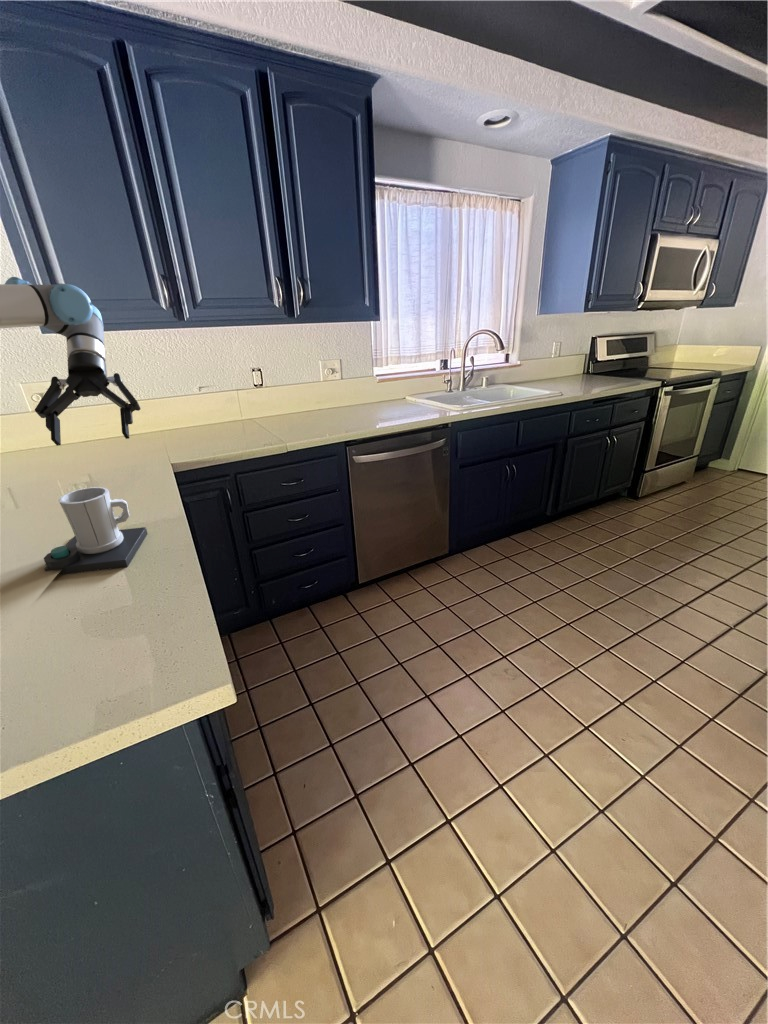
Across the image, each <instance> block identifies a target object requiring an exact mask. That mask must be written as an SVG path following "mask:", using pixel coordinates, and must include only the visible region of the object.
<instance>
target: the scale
mask: <svg viewBox="0 0 768 1024" xmlns="http://www.w3.org/2000/svg"><path fill="white" fill-rule="evenodd" d="M119 531H121V532H122V534H123V537H124V538H123V541H122V542H121V543H120V544H119V545H118V546H117V547H115V548H113V549H111V550H109V551H105V552H102V553H97V554H84V553H81V552H79V551H78V549H77V546H76V543H77V540H76V537H75V535H74V536H73V537H72V538H71V539H70V540H69V541H68V543H66V544H65V546H66V547H67V548H68V551H69V555H67V556H65V557H63V558H59V559H54V558H53V556H52V554H51V552H49V553H47V554H46V555H45V556H44V557H43V560H44V563H45V565H46V567H44V572H52V571H59V572H58V573H57V574H56V576H65V575H72V574H80V573H88V572H89V573H90V572H98V571H106V570H115V569H123V568H129V566H130V564H131V562H132V561H133V559H134V558H135V557H136V554H137V553H138V551H139V549H140V547H141V546H142V544H143V543H144V541H145V539H146V537H147V536H148V534H149V533H148V530H147V527H146V526H144V527H136V528H135V527H134V528H133V527H132V528H124V529H119Z"/></svg>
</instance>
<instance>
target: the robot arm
mask: <svg viewBox="0 0 768 1024" xmlns="http://www.w3.org/2000/svg"><path fill="white" fill-rule="evenodd" d="M92 303H93V302H92V301H91V299H90V297H89V296H88V294H87V293H86V292H85V291H84V290H83V289H81V288H80V287H78V286H76V285H74V284H68V283H56V284H32V283H31V282H30V281H29V280H25V279H22V278H20V277H18V276H11V277H9V278H7V280H6V281H5V282H4V283H3V284H2V283H1V284H0V329H13V328H30V327H43V328H45V329H48V330H50V331H52V332H53V333H56V334H58V335H61V336H62V337H65V338H66V339H65V340H66V357H67V374H68V375H67V378H58V377H57V376H52V377H51V380H50V385H49V387H48V388H47V390H46V391H45V393H44V395H43V396H42V397H41V398H40V401H39V402H38V403H37V405H36V406H35V408H34V412H35V413H36V414H37V415H38V416H39V417H40V418H41V419H45V428H46V429H47V430H48V431H49V432H50V440H51V441H52V442H53V443H54V445H56V446H57V447H58V446H61V445H62V440H61V420H60V418H59V416H60V415H61V414H62V413H63V412H64V411H65V410H66V409H67V408H68V407H69V406H70V405H71V404H72V403H73V402H74V401H78V400H79V399H80V398H81V397H82V398H88V397H99V395H102V396H103V397H104V398H106V399H108V400H110V401H111V402H112V403H114V404H115V405H116V406H118V407H119V412H120V425H121V434H122V435H123V437H124V438H125V440H129V439H130V429H129V425H133V423H134V418H133V412H136V411H140V410H141V406H140V404H139V401H138V400H137V399H136V398H135V396H134V395H133V394H132V393H131V392H130V390H129V389H128V388H127V386H126V385H125V384H124V383H123V382H124V381H123V380H122V377H121V375H120V374H119V373H118V372H115V373H113V375H112V376H108V374H107V372H108V371H107V363H106V348H105V333H104V330H105V326H104V322H103V316H102V314H101V312H100V310H99V309H98V307H96V306H95V305H94V304H92ZM110 384H112V385H113V386H115V387H117V388H118V390H119V391H120V392H121V394H122V395H123V396H124V397H125V399H126V400H127V401H125V400H124V399H123V398H121V397H120V396H118V395H117V394H116V393H114V391H112V390H110V389H109V388H108V386H109V385H110ZM66 386H67V387H66ZM65 387H66V388H65ZM63 390H64V392H63V393H62V391H63Z"/></svg>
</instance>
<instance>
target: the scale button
mask: <svg viewBox="0 0 768 1024" xmlns="http://www.w3.org/2000/svg"><path fill="white" fill-rule="evenodd" d="M50 553H51V554H52V556H53V558H54V559H59V558H63V557H65V556H67V555H69V551H68V548H67V547H66V545H61V546H56V547H54V548H52V549H51V550H50Z"/></svg>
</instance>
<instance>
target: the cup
mask: <svg viewBox="0 0 768 1024" xmlns="http://www.w3.org/2000/svg"><path fill="white" fill-rule="evenodd" d="M58 503H59V505H60V506H61V509H62V511H63V513H64V515H65V516H66V519H67V521H68V523H69V525H70V527H71V529H72V532H73V534H74V536H75V537H76V540H77V543H76V546H77V549H78V551H79V552H81V553H84V554H97V553H102V552H105V551H109V550H111V549H113V548H115V547H117V546H118V545H119V544H120V543H121V542H122V541H123V538H124V537H123V534H122V532H121V531H119V530H120V529H119V527H118V524H121V523H124V522H127V520H129V518H130V509H129V505H128V502H127V501H126V500H124V499H123V498H118V499H115V498H114V499H111V495H110V491H109V489H108V488H106V487H103V486H93V487H85V488H80V489H79V488H78V489H76V490H73V491H70V492H67V493H65V494H63V495H61V496H60V497H59V499H58ZM116 507H117V508H118V507H119V508H121V509H122V512H121V514H120V515H119V516H116V517H115V512H114V508H116Z"/></svg>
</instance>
